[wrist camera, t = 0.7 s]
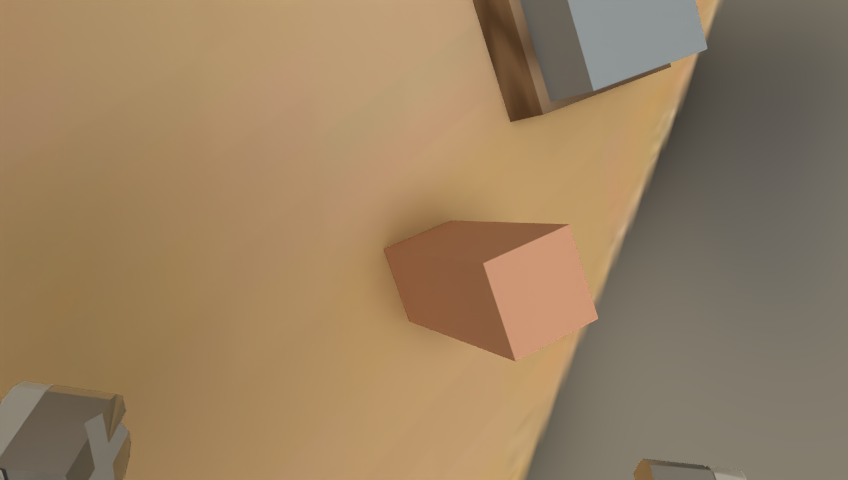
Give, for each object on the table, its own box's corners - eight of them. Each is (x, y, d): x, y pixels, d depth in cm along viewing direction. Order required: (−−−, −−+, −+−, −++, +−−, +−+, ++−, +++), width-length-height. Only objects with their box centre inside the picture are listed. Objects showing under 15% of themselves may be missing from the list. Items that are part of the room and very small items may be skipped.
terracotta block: (383, 248, 51) (483, 263, 37) (451, 220, 53) (569, 224, 39) (409, 321, 52) (515, 361, 38) (474, 290, 54) (597, 318, 40)
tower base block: (458, -35, 53) (490, -59, 48) (586, -70, 57) (628, -94, 52) (507, 122, 55) (543, 114, 50) (627, 77, 59) (671, 66, 55)
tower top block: (507, -41, 49) (548, -67, 44) (621, -72, 52) (669, -100, 48) (550, 101, 50) (593, 91, 46) (657, 62, 54) (707, 48, 49)
